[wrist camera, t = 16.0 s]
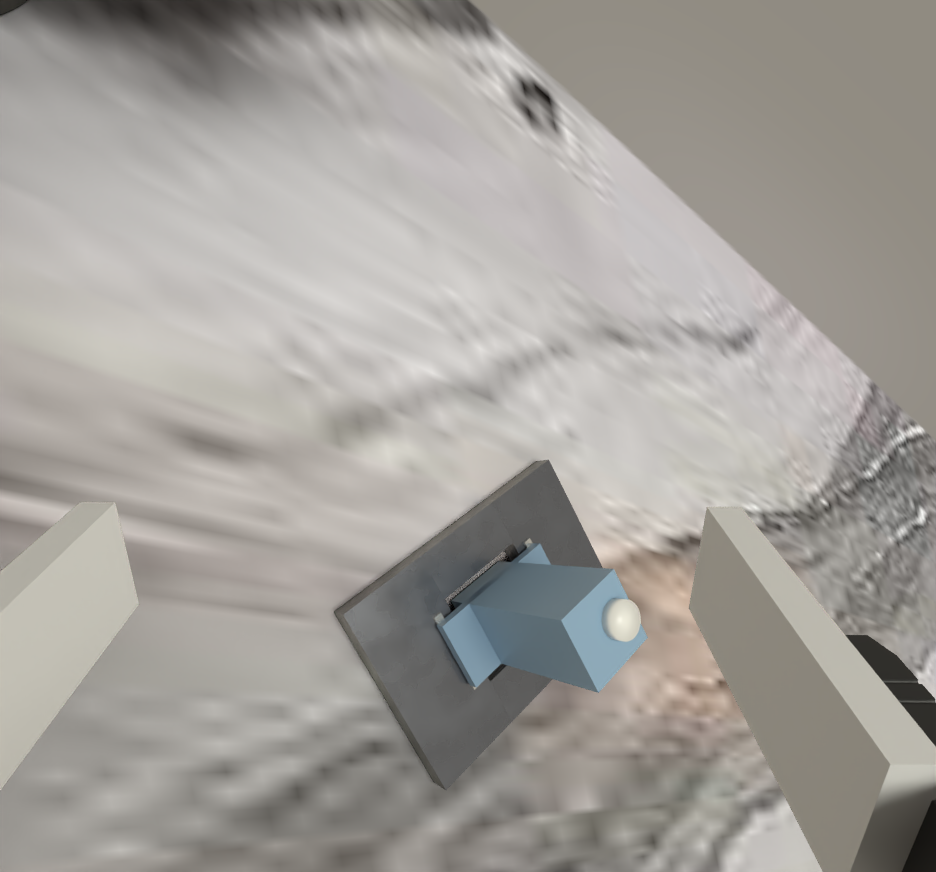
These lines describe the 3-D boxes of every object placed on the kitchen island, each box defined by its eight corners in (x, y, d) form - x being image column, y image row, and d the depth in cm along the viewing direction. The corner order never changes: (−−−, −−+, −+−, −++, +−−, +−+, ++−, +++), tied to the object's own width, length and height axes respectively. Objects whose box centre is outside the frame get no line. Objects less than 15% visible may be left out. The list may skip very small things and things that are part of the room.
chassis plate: (434, 782, 44) (447, 791, 42) (333, 612, 41) (344, 615, 40) (608, 604, 54) (623, 606, 53) (536, 461, 52) (550, 459, 50)
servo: (457, 680, 45) (581, 727, 35) (425, 622, 44) (541, 651, 34) (548, 596, 50) (679, 614, 40) (520, 542, 50) (647, 546, 39)
